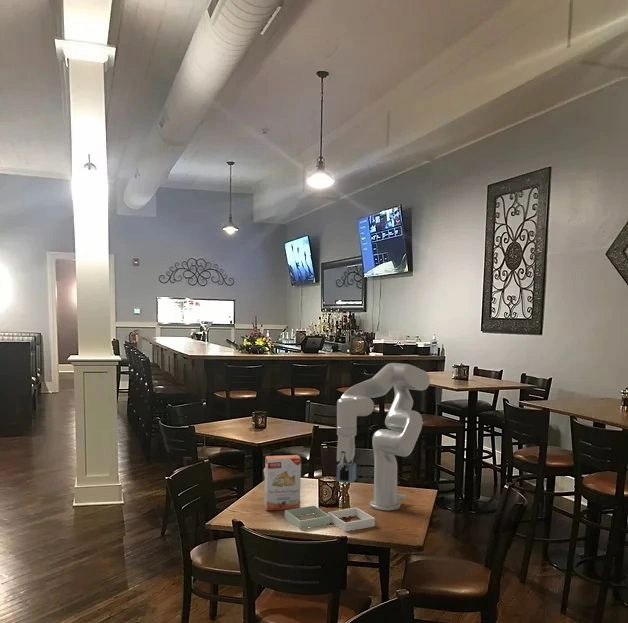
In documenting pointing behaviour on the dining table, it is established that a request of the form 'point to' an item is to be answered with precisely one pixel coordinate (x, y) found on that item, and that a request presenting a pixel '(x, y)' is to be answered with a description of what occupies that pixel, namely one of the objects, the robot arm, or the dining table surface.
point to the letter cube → (351, 473)
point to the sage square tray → (322, 519)
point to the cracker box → (282, 482)
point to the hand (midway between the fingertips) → (346, 477)
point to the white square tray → (364, 523)
